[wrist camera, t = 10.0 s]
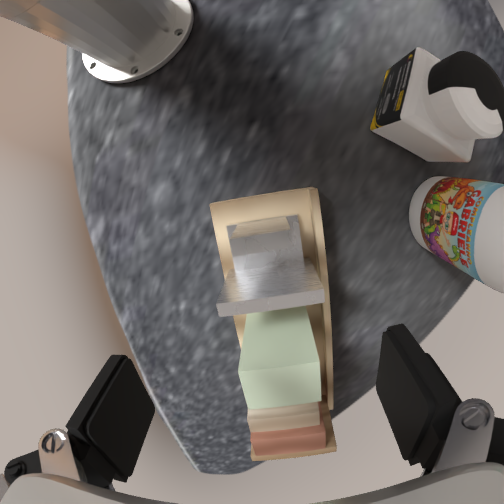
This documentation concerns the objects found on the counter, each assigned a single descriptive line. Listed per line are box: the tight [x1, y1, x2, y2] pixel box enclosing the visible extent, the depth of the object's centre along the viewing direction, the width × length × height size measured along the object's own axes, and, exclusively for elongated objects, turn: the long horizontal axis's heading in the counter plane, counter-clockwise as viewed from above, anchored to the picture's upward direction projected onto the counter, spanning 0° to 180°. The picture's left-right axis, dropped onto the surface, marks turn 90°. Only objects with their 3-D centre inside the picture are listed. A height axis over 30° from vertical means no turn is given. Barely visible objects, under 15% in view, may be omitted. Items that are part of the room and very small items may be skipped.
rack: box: [210, 187, 337, 461], centre depth 24 cm, size 24×9×9 cm, turn 10°
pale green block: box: [238, 306, 321, 409], centre depth 23 cm, size 4×6×9 cm
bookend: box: [216, 214, 325, 317], centre depth 21 cm, size 5×7×7 cm
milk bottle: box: [409, 176, 504, 293], centre depth 15 cm, size 8×8×20 cm
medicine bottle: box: [370, 47, 504, 162], centre depth 16 cm, size 7×7×12 cm
